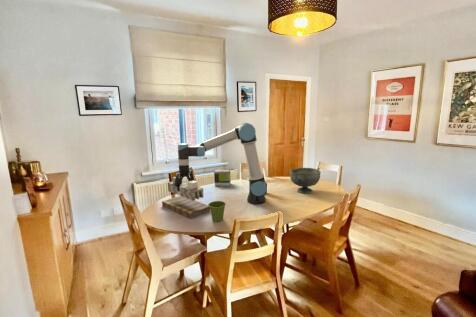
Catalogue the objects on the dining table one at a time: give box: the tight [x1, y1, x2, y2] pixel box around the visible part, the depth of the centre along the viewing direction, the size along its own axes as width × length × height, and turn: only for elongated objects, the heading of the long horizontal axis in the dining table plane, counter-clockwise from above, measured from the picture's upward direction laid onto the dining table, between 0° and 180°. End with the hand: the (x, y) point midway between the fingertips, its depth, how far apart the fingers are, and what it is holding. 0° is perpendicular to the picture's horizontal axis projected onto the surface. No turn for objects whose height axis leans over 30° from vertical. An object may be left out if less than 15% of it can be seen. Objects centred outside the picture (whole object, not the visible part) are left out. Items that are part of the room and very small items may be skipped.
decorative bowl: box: [289, 167, 321, 195], centre depth 224 cm, size 26×26×20 cm
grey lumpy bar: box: [167, 180, 204, 201], centre depth 187 cm, size 32×9×7 cm, turn 48°
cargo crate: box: [186, 180, 198, 189], centre depth 179 cm, size 5×5×4 cm
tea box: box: [213, 169, 231, 187], centre depth 249 cm, size 15×10×15 cm, turn 84°
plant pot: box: [207, 200, 227, 223], centre depth 168 cm, size 12×12×11 cm
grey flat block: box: [161, 195, 211, 220], centre depth 189 cm, size 36×18×4 cm, turn 48°
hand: (185, 193), depth 187 cm, fingers closed on grey lumpy bar, 9 cm apart
